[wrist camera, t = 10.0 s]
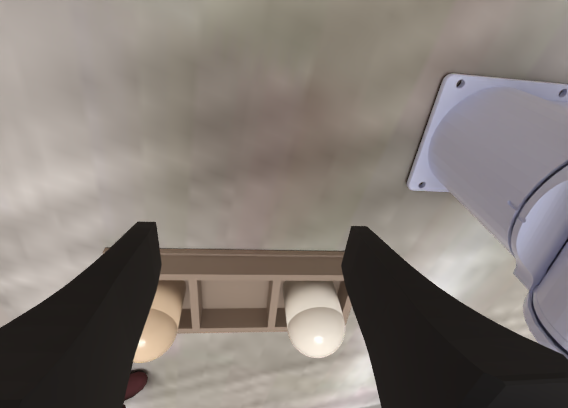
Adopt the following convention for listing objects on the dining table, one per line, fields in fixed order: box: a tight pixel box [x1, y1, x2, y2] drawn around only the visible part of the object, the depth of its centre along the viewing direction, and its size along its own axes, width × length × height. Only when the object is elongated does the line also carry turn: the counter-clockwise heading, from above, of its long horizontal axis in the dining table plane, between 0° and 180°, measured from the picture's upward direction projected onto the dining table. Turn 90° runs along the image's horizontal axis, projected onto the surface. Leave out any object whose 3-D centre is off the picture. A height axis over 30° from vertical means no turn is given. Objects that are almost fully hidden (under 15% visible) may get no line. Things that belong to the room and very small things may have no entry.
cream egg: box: [283, 281, 345, 358], centre depth 26 cm, size 4×4×6 cm
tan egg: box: [133, 280, 186, 363], centre depth 24 cm, size 4×4×6 cm
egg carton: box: [103, 248, 352, 333], centre depth 27 cm, size 20×7×2 cm, turn 84°
